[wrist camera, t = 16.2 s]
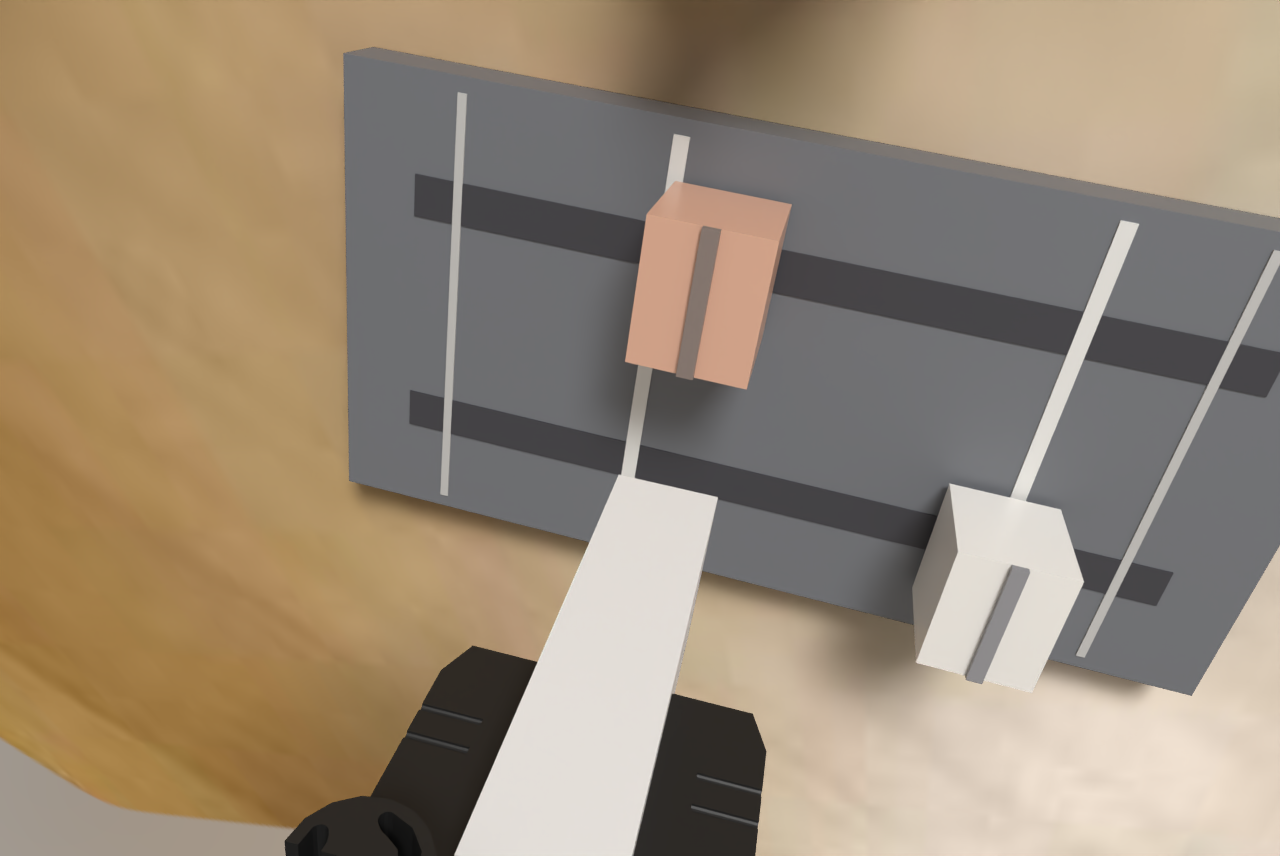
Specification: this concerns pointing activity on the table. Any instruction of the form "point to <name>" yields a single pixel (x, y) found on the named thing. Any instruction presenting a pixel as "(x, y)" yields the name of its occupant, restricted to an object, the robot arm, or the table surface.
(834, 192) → the console
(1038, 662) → the block
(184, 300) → the table surface
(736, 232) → the fader
